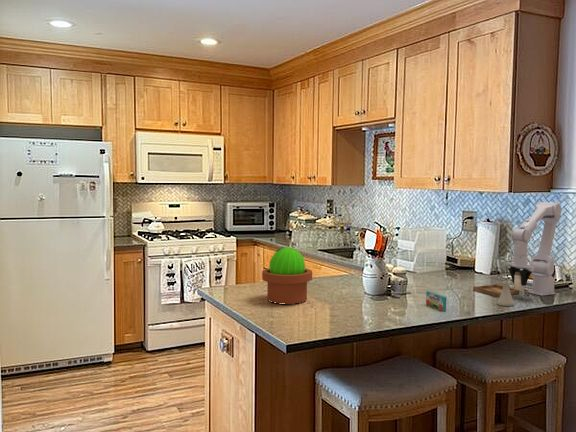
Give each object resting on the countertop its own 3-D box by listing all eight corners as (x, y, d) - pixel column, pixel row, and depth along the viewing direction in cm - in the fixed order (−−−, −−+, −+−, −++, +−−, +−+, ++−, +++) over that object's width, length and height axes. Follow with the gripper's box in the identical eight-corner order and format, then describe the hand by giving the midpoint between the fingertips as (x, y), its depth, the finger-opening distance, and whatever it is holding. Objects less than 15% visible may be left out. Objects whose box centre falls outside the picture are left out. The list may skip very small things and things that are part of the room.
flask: (516, 307, 222) (517, 284, 221) (498, 306, 223) (499, 283, 222) (512, 303, 229) (513, 280, 228) (495, 302, 230) (495, 280, 229)
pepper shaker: (519, 288, 239) (519, 271, 239) (526, 289, 235) (527, 272, 235) (511, 288, 238) (512, 271, 237) (519, 290, 234) (519, 273, 233)
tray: (496, 288, 259) (496, 284, 259) (519, 294, 246) (519, 290, 246) (473, 290, 254) (473, 286, 253) (495, 297, 240) (495, 292, 240)
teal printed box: (426, 304, 226) (426, 291, 225) (428, 304, 226) (429, 290, 226) (443, 311, 214) (443, 297, 214) (446, 311, 215) (446, 296, 214)
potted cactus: (321, 300, 234) (321, 245, 232) (288, 309, 217) (289, 250, 216) (285, 292, 248) (285, 241, 247) (252, 300, 232) (252, 246, 230)
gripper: (501, 253, 240) (500, 282, 241) (526, 257, 227) (525, 288, 228) (513, 252, 243) (512, 280, 244) (538, 256, 230) (537, 286, 231)
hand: (519, 284), depth 236 cm, fingers closed on pepper shaker, 4 cm apart
